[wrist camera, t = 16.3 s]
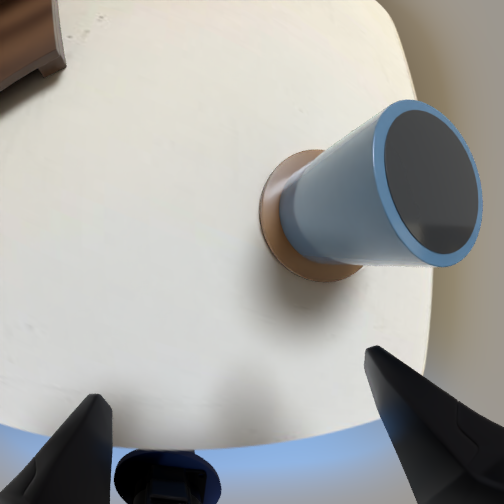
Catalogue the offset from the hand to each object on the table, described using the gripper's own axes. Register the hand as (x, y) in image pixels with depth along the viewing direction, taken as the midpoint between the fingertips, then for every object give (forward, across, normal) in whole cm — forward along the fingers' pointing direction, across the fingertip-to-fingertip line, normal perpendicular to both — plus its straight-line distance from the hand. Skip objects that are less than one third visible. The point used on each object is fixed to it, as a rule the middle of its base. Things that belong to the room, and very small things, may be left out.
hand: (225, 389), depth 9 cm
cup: (+12, -7, 0) cm, 14 cm away
